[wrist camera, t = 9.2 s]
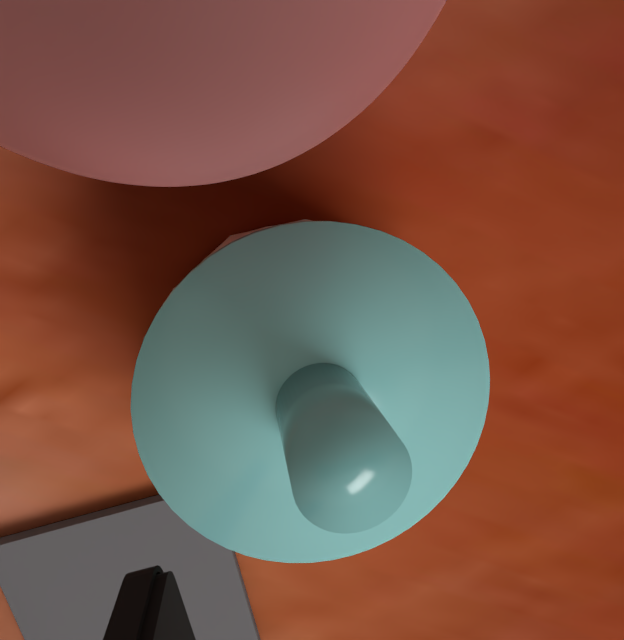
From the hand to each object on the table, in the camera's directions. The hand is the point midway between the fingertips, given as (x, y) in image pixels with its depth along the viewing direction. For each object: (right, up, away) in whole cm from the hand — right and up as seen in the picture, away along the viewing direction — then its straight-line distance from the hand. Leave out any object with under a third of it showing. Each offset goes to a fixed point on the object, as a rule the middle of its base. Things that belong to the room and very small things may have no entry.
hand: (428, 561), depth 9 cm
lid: (-2, +2, +8) cm, 8 cm away
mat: (-11, -9, +14) cm, 20 cm away
